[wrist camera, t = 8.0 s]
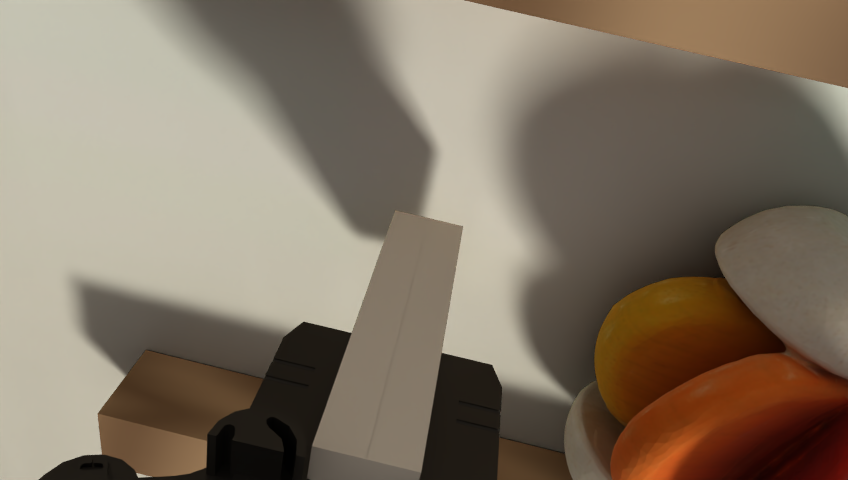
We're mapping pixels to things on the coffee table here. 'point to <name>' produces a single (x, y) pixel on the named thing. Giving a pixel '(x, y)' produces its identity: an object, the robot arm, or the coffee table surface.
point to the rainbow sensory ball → (727, 364)
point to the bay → (568, 3)
